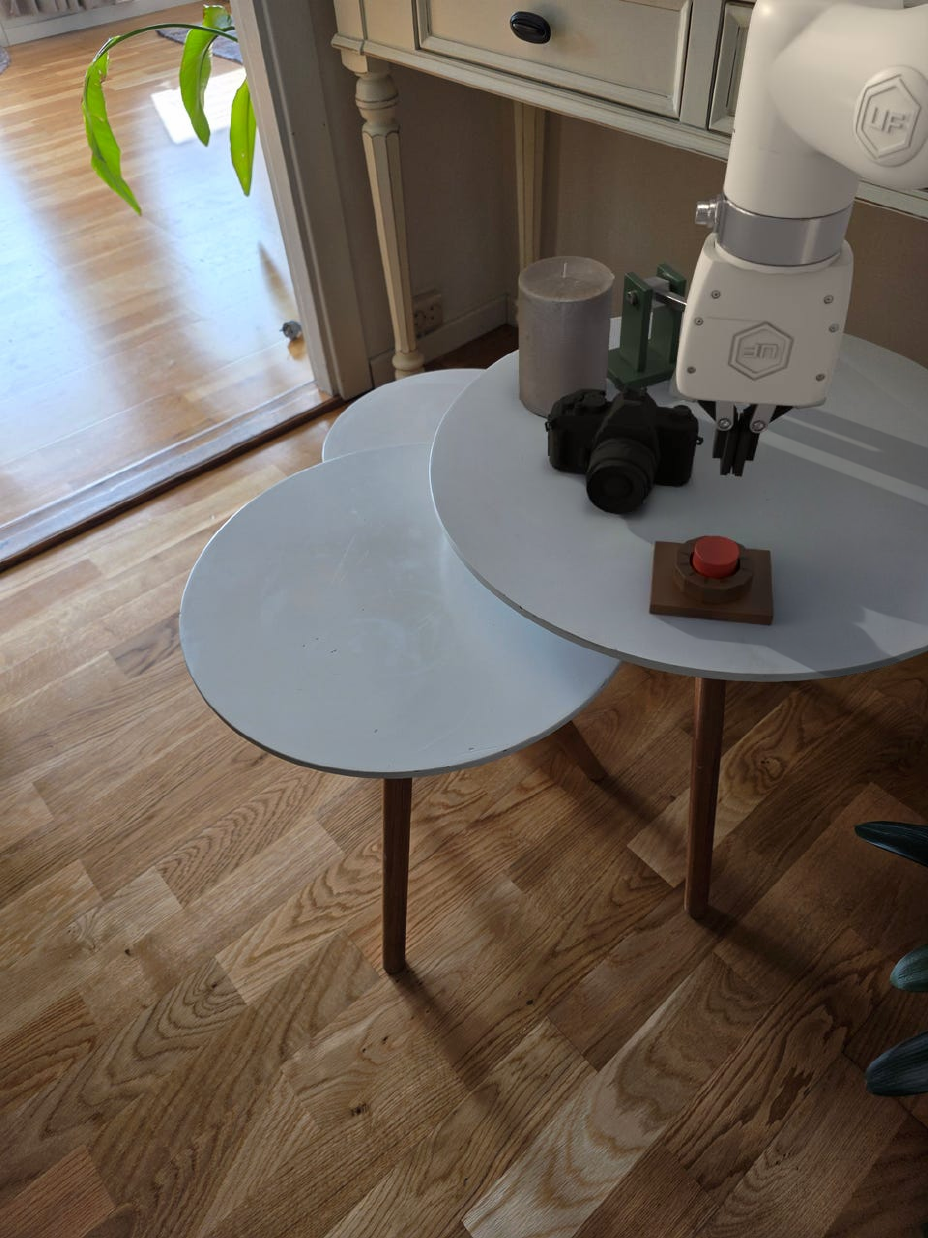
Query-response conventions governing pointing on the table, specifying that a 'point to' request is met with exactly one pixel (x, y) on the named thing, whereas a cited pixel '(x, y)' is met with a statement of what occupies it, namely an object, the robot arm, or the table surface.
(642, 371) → the bracket
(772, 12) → the robot arm
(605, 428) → the film camera
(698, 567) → the button
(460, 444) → the table surface
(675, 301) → the lever
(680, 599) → the button block
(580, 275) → the pillar candle
